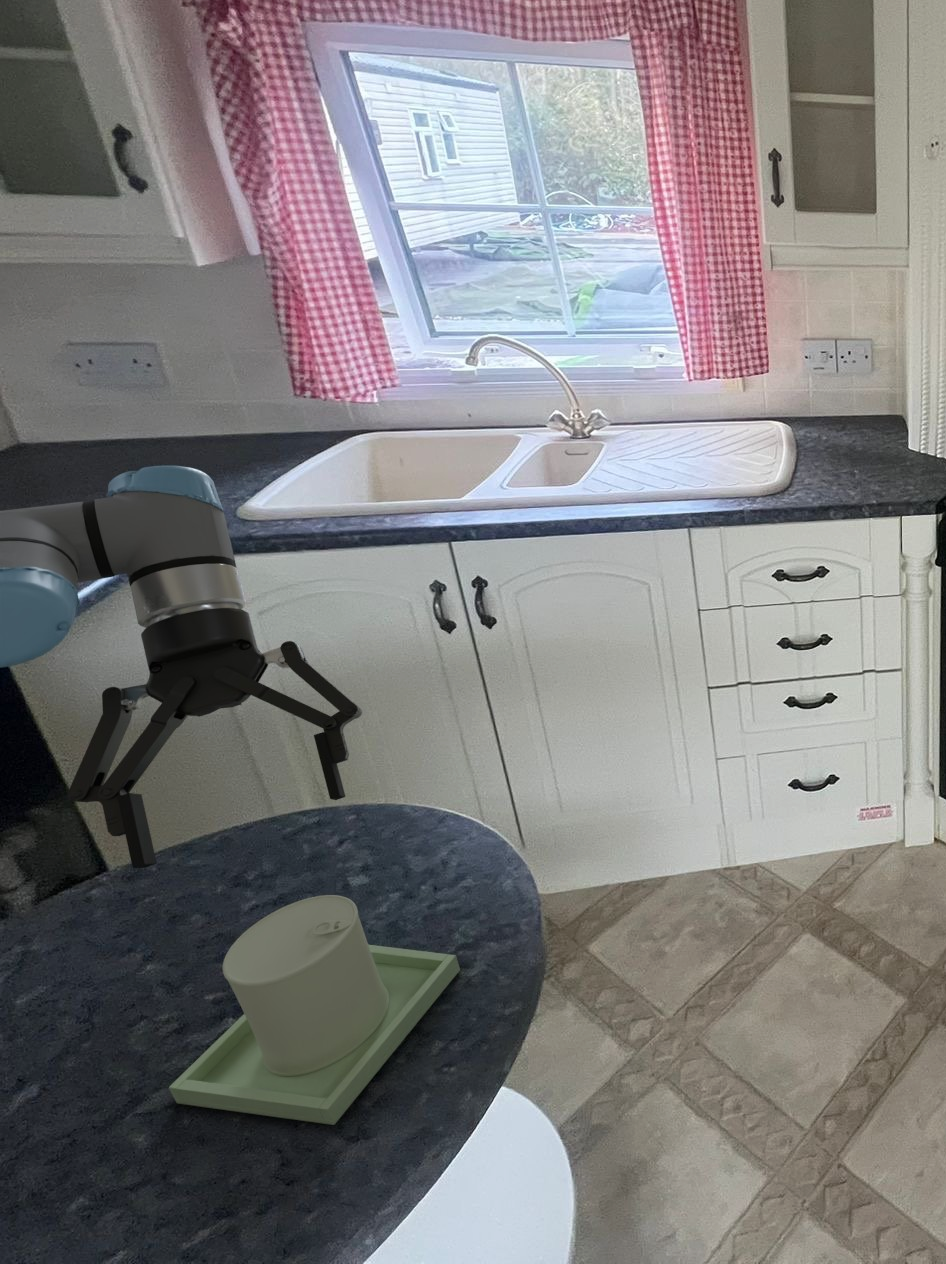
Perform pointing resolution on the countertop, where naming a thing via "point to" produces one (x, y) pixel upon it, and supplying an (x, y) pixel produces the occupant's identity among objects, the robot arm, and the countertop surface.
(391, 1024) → the tray
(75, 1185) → the countertop surface
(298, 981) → the can
